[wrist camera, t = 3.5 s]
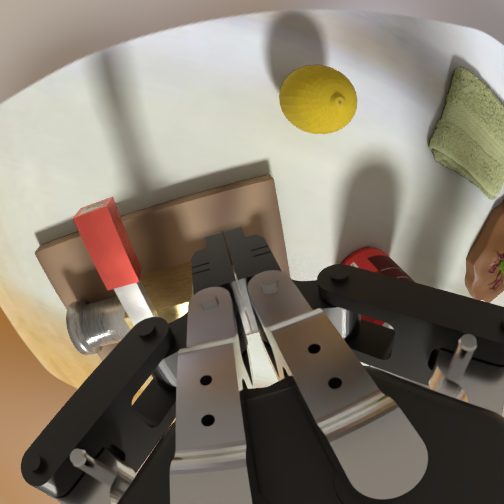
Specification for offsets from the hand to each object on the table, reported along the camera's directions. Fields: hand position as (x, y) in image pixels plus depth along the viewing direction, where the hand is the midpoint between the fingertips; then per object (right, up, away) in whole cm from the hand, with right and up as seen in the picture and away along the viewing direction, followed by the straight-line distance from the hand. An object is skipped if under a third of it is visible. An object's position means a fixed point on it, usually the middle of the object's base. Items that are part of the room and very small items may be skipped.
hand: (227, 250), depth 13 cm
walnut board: (-7, -3, +18) cm, 20 cm away
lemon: (+5, +14, +12) cm, 19 cm away
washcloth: (+30, +15, +17) cm, 38 cm away
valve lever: (-7, -3, +7) cm, 10 cm away
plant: (+44, +1, +29) cm, 53 cm away
